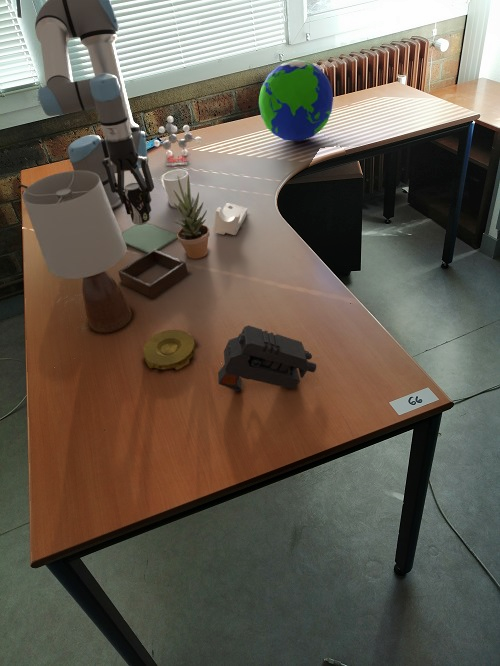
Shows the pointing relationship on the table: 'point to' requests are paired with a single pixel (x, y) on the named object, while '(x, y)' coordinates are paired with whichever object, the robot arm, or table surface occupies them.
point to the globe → (296, 100)
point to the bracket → (229, 219)
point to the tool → (264, 359)
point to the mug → (174, 185)
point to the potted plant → (192, 225)
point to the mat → (147, 237)
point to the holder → (160, 284)
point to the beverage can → (136, 204)
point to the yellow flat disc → (169, 349)
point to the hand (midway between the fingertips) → (139, 212)
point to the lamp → (81, 241)
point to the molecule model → (173, 139)
